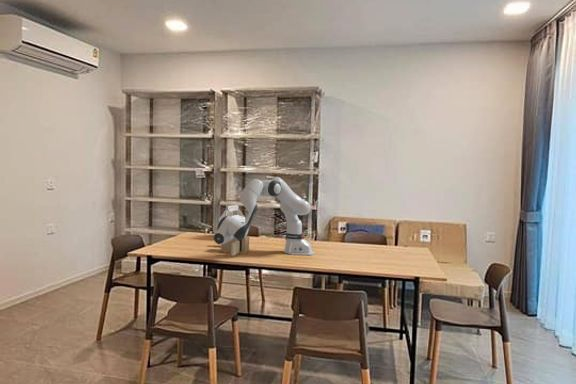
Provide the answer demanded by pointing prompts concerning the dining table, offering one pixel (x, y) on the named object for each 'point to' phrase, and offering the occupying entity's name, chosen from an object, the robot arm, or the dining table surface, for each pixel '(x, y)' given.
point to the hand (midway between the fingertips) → (233, 231)
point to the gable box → (235, 215)
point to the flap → (235, 248)
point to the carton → (242, 247)
